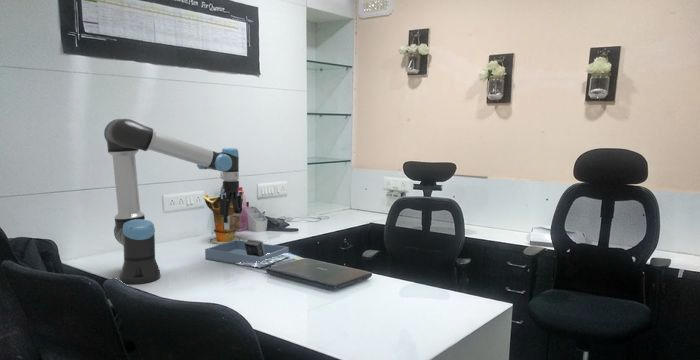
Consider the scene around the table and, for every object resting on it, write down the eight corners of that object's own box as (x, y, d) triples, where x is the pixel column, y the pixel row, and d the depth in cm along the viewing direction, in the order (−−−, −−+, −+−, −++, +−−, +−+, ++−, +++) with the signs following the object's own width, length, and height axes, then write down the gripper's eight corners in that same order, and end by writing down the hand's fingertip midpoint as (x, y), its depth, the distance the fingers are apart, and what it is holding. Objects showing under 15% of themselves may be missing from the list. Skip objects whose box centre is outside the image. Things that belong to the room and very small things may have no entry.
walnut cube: (232, 230, 229) (232, 218, 228) (223, 229, 232) (222, 217, 231) (241, 228, 234) (240, 216, 234) (231, 227, 237) (231, 215, 236)
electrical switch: (266, 258, 228) (265, 239, 226) (259, 262, 224) (257, 242, 222) (252, 255, 233) (250, 237, 231) (244, 259, 229) (242, 240, 227)
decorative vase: (195, 243, 258) (196, 190, 257) (220, 236, 280) (221, 188, 278) (229, 246, 251) (230, 192, 250) (251, 239, 273) (253, 190, 272)
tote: (260, 268, 213) (260, 257, 213) (205, 259, 228) (205, 248, 227) (288, 257, 233) (288, 247, 232) (236, 249, 247) (236, 239, 247)
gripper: (223, 182, 221) (224, 232, 223) (249, 179, 237) (250, 225, 240) (210, 181, 224) (211, 230, 226) (237, 178, 241) (238, 224, 243)
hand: (231, 228), depth 233 cm, fingers closed on walnut cube, 6 cm apart
